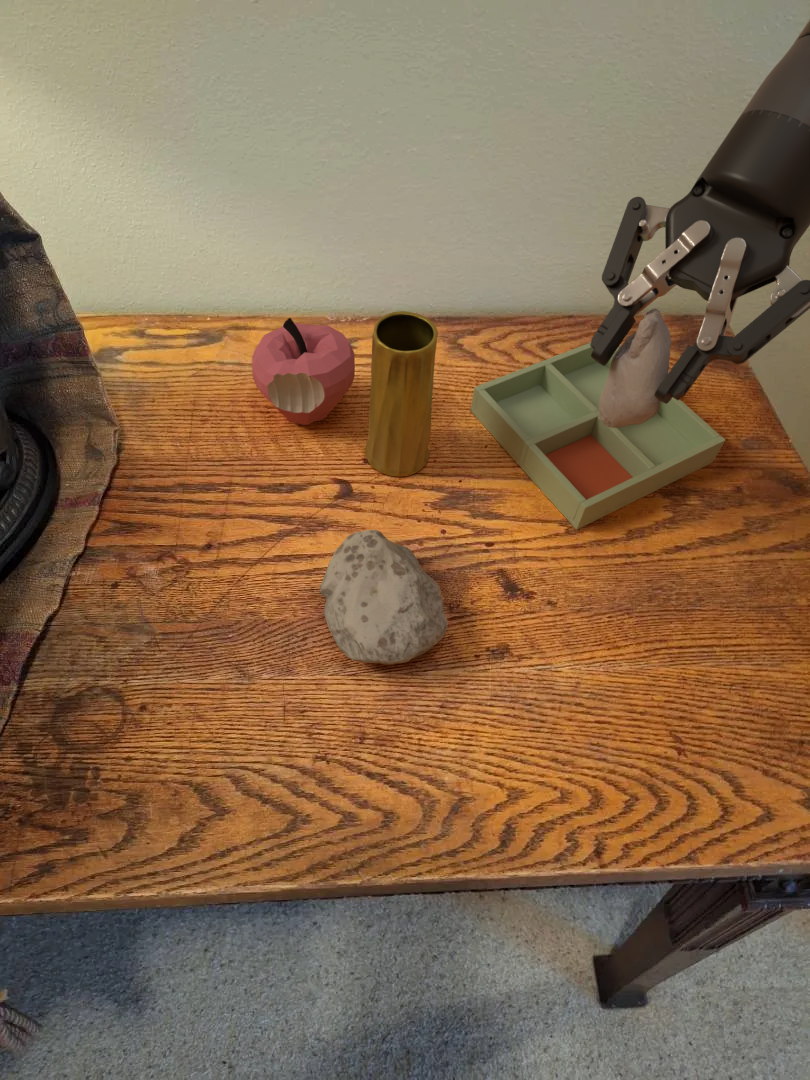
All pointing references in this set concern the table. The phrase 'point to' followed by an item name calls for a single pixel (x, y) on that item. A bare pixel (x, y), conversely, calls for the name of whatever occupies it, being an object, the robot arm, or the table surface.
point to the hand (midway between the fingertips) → (629, 379)
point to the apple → (303, 370)
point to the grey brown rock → (637, 374)
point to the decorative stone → (381, 601)
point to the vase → (401, 393)
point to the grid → (588, 436)
